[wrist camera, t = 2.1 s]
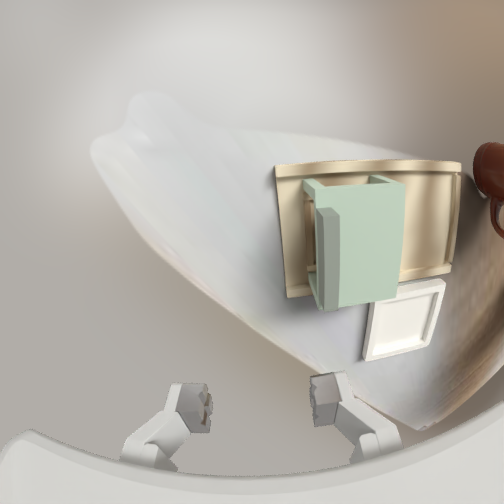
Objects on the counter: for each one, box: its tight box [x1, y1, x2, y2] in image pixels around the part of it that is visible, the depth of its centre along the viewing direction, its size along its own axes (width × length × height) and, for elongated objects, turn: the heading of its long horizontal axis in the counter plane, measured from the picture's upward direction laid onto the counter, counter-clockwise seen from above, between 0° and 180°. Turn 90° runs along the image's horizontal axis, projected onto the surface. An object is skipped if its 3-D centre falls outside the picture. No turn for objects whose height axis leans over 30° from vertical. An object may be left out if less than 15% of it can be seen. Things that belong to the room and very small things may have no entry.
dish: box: [362, 278, 446, 362], centre depth 32 cm, size 11×11×2 cm
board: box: [274, 160, 461, 298], centre depth 27 cm, size 22×14×1 cm, turn 97°
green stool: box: [303, 175, 405, 312], centre depth 23 cm, size 8×11×8 cm
